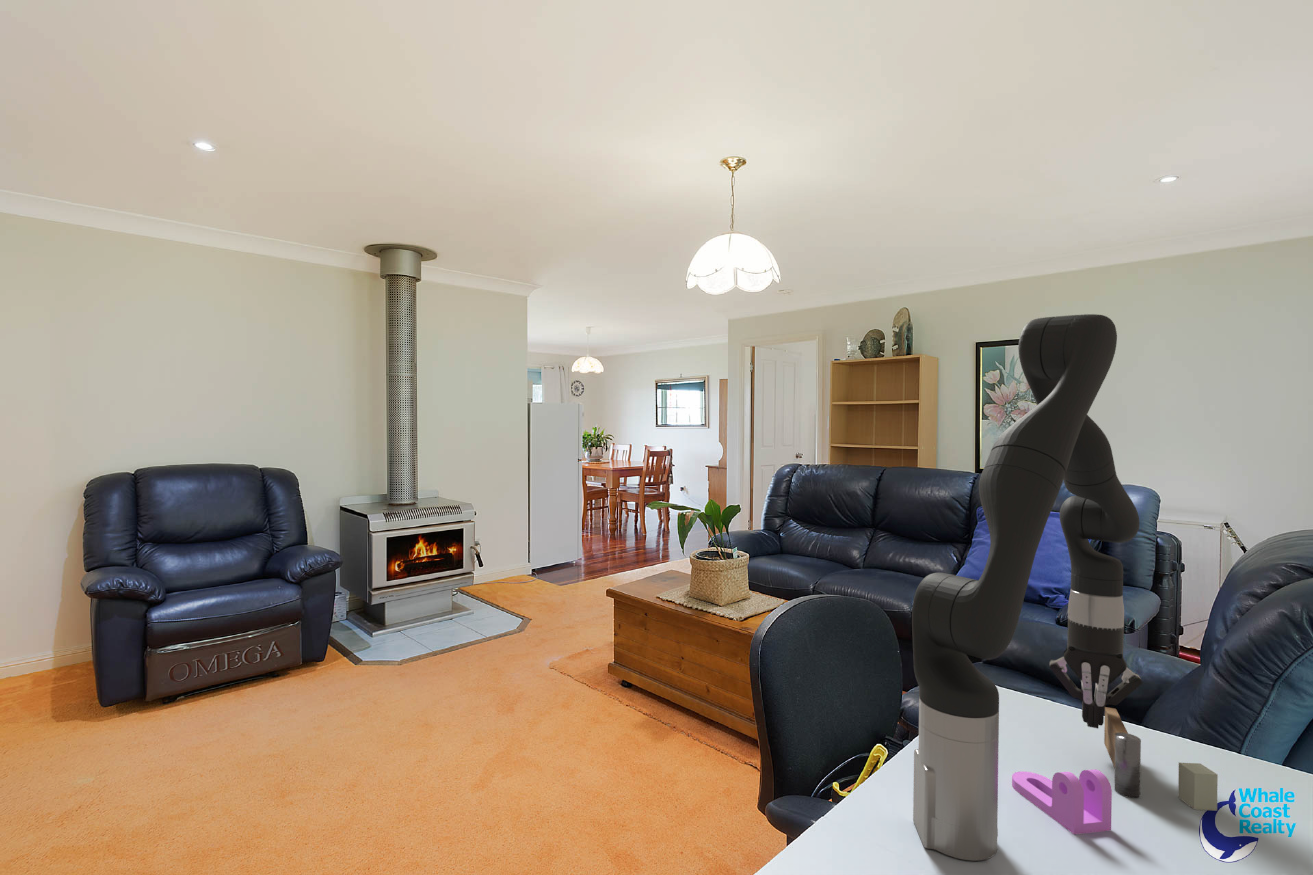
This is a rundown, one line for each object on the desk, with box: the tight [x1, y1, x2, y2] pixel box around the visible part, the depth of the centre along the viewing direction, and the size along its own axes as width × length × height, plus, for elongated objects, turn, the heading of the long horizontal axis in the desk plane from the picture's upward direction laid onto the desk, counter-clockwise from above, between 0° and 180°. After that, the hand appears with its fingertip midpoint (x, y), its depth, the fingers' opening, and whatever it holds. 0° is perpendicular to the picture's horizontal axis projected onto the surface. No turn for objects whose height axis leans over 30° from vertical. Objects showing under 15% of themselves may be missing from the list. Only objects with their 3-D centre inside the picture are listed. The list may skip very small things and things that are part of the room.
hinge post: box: [1114, 732, 1142, 799], centre depth 93 cm, size 3×3×8 cm
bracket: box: [1011, 769, 1113, 835], centre depth 90 cm, size 13×6×7 cm, turn 10°
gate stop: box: [1177, 762, 1219, 811], centre depth 91 cm, size 3×3×5 cm
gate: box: [1103, 706, 1129, 769], centre depth 101 cm, size 12×2×6 cm, turn 153°
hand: (1092, 725), depth 105 cm, fingers closed
